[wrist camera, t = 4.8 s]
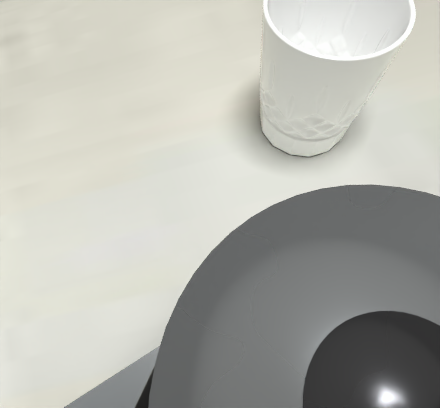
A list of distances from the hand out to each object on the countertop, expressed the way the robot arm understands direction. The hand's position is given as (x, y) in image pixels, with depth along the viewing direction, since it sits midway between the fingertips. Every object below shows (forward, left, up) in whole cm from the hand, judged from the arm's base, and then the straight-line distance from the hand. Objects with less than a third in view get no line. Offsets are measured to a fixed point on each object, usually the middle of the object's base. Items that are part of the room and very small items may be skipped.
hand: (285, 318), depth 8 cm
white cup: (+11, -12, -13) cm, 21 cm away
